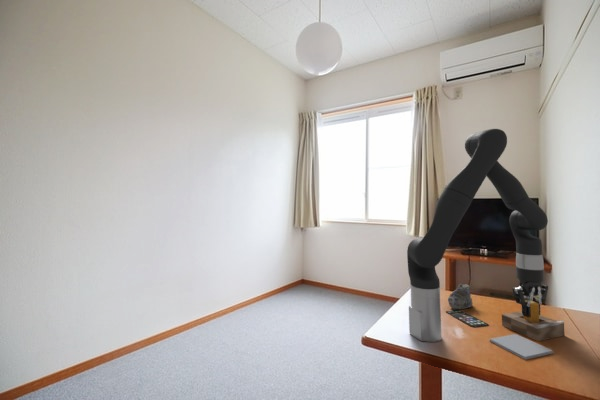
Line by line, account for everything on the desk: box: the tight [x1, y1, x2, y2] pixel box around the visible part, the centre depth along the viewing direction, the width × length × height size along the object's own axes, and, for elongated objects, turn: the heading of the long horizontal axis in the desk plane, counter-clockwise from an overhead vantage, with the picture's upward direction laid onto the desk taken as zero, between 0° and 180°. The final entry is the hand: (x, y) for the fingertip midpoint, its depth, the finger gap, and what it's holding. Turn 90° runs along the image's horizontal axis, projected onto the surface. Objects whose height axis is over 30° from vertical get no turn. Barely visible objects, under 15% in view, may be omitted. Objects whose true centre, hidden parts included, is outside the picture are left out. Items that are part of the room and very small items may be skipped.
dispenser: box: [501, 310, 566, 342], centre depth 96 cm, size 12×12×5 cm
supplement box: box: [524, 299, 539, 323], centre depth 96 cm, size 3×3×10 cm
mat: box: [489, 333, 554, 360], centre depth 86 cm, size 11×11×1 cm
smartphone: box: [445, 309, 490, 328], centre depth 108 cm, size 7×1×15 cm
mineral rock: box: [447, 283, 474, 310], centre depth 119 cm, size 13×11×10 cm
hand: (531, 315), depth 96 cm, fingers open, 4 cm apart
